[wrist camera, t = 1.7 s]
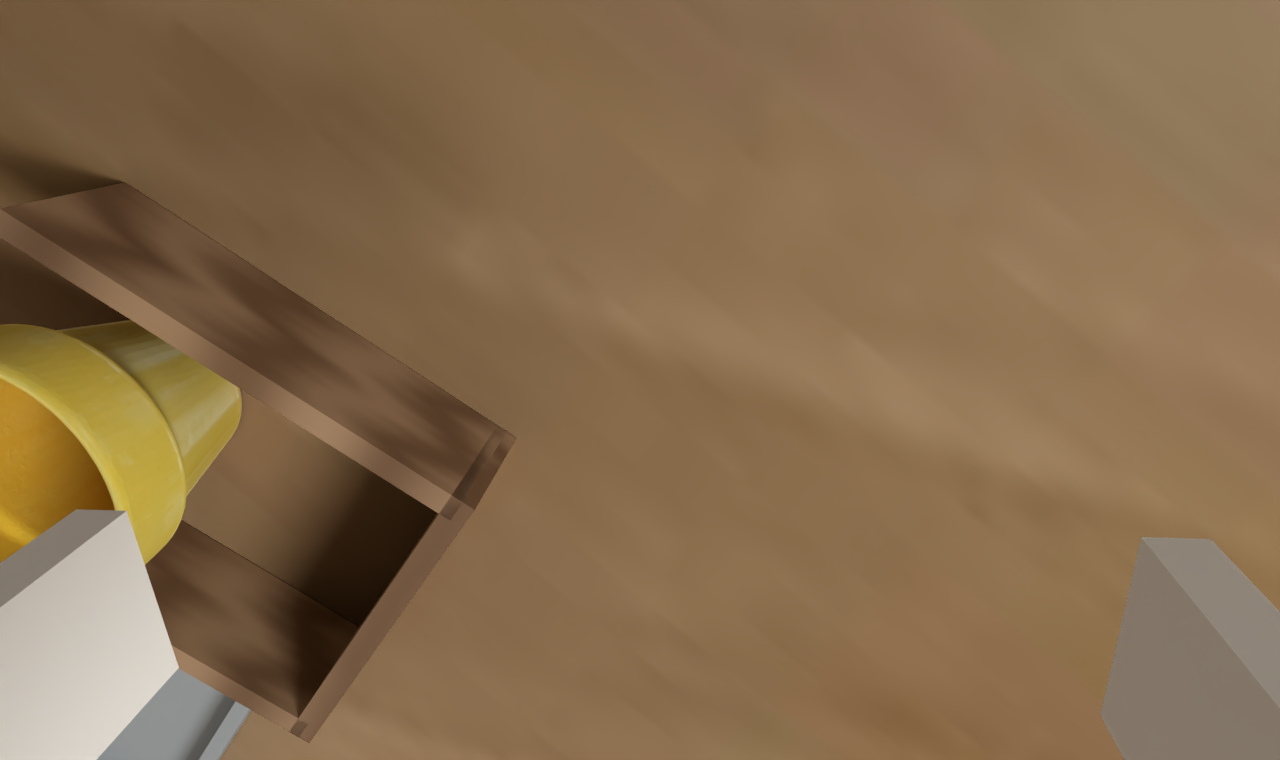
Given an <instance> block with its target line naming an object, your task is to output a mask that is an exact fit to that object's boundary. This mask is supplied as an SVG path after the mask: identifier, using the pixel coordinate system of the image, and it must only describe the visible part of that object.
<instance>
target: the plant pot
mask: <svg viewBox="0 0 1280 760" xmlns="http://www.w3.org/2000/svg"><path fill="white" fill-rule="evenodd" d="M241 412H242V397H241V391H240V388H238V387H237V386H235V385H233V384H232V383H230V382H229V381H227V380H226V379H224V378H222V377H221V376H219V375H218V374H216V373H214V372H213V371H211V370H210V369H208V368H206V367H205V366H203V365H202V364H200V363H199V362H197V361H195V360H194V359H192V358H191V357H189V356H187V355H186V354H184V353H183V352H181V351H179V350H178V349H176V348H175V347H173V346H172V345H170V344H168V343H167V342H165V341H164V340H162V339H160V338H159V337H157V336H156V335H154V334H152V333H151V332H149V331H148V330H146V329H145V328H143V327H141V326H140V325H138V324H137V323H135V322H133V321H132V320H125V321H119V322H112V323H105V324H97V325H90V326H83V327H76V328H69V329H62V330H53V329H49V328H45V327H41V326H35V325H28V324H3V325H0V563H1V562H3V561H4V560H5V559H7V558H8V557H10V556H11V555H12V554H14V553H15V552H17V551H18V550H20V549H21V548H22V547H24V546H25V545H27V544H28V543H29V542H31V541H32V540H34V539H35V538H37V537H38V536H39V535H41V534H42V533H44V532H45V531H46V530H48V529H49V528H51V527H52V526H54V525H55V524H56V523H58V522H59V521H61V520H62V519H63V518H65V517H66V516H68V515H69V514H71V513H72V512H73V511H75V510H76V509H79V510H117V511H127V513H128V516H129V519H130V522H131V525H132V528H133V531H134V534H135V537H136V540H137V543H138V546H139V549H140V552H141V555H142V558H143V561H144V564H147V563H148V562H149V561H150V560H151V559H152V558H153V557H154V556H155V555H156V554H157V553H158V552H159V551H160V550H161V549H162V548H163V547H164V546H165V545H166V544H167V543H168V542H169V540H170V539H171V538H172V536H173V535H174V533H175V532H176V530H177V528H178V526H179V524H180V522H181V519H182V516H183V512H184V509H185V504H186V497H187V495H188V494H189V493H190V491H191V490H192V489H193V487H194V486H195V485H196V483H197V482H198V481H199V479H200V478H201V477H202V475H203V474H204V473H205V471H206V470H207V469H208V467H209V466H210V465H211V463H212V462H213V461H214V459H215V458H216V457H217V455H218V454H219V453H220V452H221V450H222V449H223V448H224V446H225V445H226V444H227V442H228V441H229V440H230V438H231V437H232V436H233V434H234V432H235V431H236V429H237V426H238V424H239V421H240V417H241Z"/></svg>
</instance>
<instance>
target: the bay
mask: <svg viewBox="0 0 1280 760" xmlns="http://www.w3.org/2000/svg"><path fill="white" fill-rule="evenodd" d="M0 238H2V239H3V240H5V241H6V242H8V243H10V244H11V245H13V246H14V247H16V248H17V249H19V250H21V251H22V252H24V253H25V254H27V255H29V256H30V257H32V258H33V259H35V260H37V261H38V262H40V263H41V264H43V265H44V266H46V267H48V268H49V269H51V270H52V271H54V272H56V273H57V274H59V275H60V276H62V277H64V278H65V279H67V280H68V281H70V282H71V283H73V284H75V285H76V286H78V287H79V288H81V289H83V290H84V291H86V292H87V293H89V294H91V295H92V296H94V297H95V298H97V299H98V300H100V301H102V302H103V303H105V304H106V305H108V306H110V307H111V308H113V309H114V310H116V311H118V312H119V313H121V314H122V315H124V316H125V317H127V318H129V319H130V320H132V321H133V322H135V323H137V324H138V325H140V326H141V327H143V328H145V329H146V330H148V331H149V332H151V333H152V334H154V335H156V336H157V337H159V338H160V339H162V340H164V341H165V342H167V343H168V344H170V345H172V346H173V347H175V348H176V349H178V350H179V351H181V352H183V353H184V354H186V355H187V356H189V357H191V358H192V359H194V360H195V361H197V362H199V363H200V364H202V365H203V366H205V367H206V368H208V369H210V370H211V371H213V372H214V373H216V374H218V375H219V376H221V377H222V378H224V379H226V380H227V381H229V382H230V383H232V384H233V385H235V386H237V387H238V388H240V389H241V390H243V391H245V392H246V393H248V394H249V395H251V396H253V397H254V398H256V399H257V400H259V401H260V402H262V403H264V404H265V405H267V406H268V407H270V408H272V409H273V410H275V411H276V412H278V413H280V414H281V415H283V416H284V417H286V418H287V419H289V420H291V421H292V422H294V423H295V424H297V425H299V426H300V427H302V428H303V429H305V430H307V431H308V432H310V433H311V434H313V435H314V436H316V437H318V438H319V439H321V440H322V441H324V442H326V443H327V444H329V445H330V446H332V447H334V448H335V449H337V450H338V451H340V452H341V453H343V454H345V455H346V456H348V457H349V458H351V459H353V460H354V461H356V462H357V463H359V464H361V465H362V466H364V467H365V468H367V469H368V470H370V471H372V472H373V473H375V474H376V475H378V476H380V477H381V478H383V479H384V480H386V481H388V482H389V483H391V484H392V485H394V486H395V487H397V488H399V489H400V490H402V491H403V492H405V493H407V494H408V495H410V496H411V497H413V498H415V499H416V500H418V501H419V502H421V503H422V504H424V505H426V506H427V507H429V508H430V509H432V510H434V511H435V512H437V514H436V515H435V517H434V518H433V520H432V521H431V523H430V524H429V525H428V527H427V528H426V530H425V531H424V533H423V534H422V536H421V537H420V539H419V540H418V542H417V543H416V544H415V546H414V547H413V549H412V550H411V552H410V553H409V555H408V556H407V558H406V559H405V561H404V562H403V563H402V565H401V566H400V568H399V569H398V571H397V572H396V574H395V575H394V577H393V578H392V579H391V581H390V582H389V584H388V585H387V587H386V588H385V590H384V591H383V593H382V594H381V596H380V597H379V598H378V600H377V601H376V603H375V604H374V606H373V607H372V609H371V610H370V612H369V613H368V614H367V616H366V617H365V619H364V620H363V622H362V623H361V625H360V626H359V627H358V626H356V625H355V624H353V623H351V622H350V621H348V620H346V619H345V618H343V617H341V616H340V615H338V614H336V613H335V612H333V611H331V610H330V609H328V608H326V607H325V606H323V605H321V604H320V603H318V602H316V601H315V600H313V599H311V598H310V597H308V596H306V595H305V594H303V593H301V592H300V591H298V590H296V589H295V588H293V587H291V586H290V585H288V584H286V583H285V582H283V581H281V580H280V579H278V578H276V577H275V576H273V575H271V574H270V573H268V572H266V571H265V570H263V569H261V568H260V567H258V566H256V565H255V564H253V563H251V562H250V561H248V560H246V559H245V558H243V557H241V556H240V555H238V554H236V553H235V552H233V551H231V550H230V549H228V548H226V547H225V546H223V545H221V544H220V543H218V542H216V541H215V540H213V539H211V538H210V537H208V536H206V535H205V534H203V533H201V532H200V531H198V530H196V529H195V528H193V527H191V526H190V525H188V524H186V523H185V522H183V521H181V522H180V524H179V526H178V528H177V530H176V532H175V533H174V535H173V536H172V538H171V539H170V540H169V542H168V543H167V544H166V545H165V546H164V547H163V548H162V549H161V550H160V551H159V552H158V553H157V554H156V555H155V556H154V557H153V558H152V559H151V560H150V561H149V562H148V563H147V564H145V567H146V570H147V573H148V576H149V579H150V582H151V585H152V588H153V591H154V594H155V597H156V600H157V603H158V606H159V609H160V612H161V615H162V618H163V621H164V624H165V627H166V630H167V633H168V636H169V639H170V642H171V645H172V648H173V651H174V654H175V657H176V660H177V663H178V666H179V669H180V670H182V671H184V672H186V673H187V674H189V675H191V676H193V677H194V678H196V679H198V680H200V681H201V682H203V683H205V684H207V685H208V686H210V687H212V688H214V689H215V690H217V691H219V692H221V693H222V694H224V695H226V696H227V697H229V698H231V699H233V700H234V701H236V702H238V703H240V704H241V705H243V706H245V707H247V708H248V709H250V710H252V711H254V712H255V713H257V714H259V715H261V716H262V717H264V718H266V719H268V720H269V721H271V722H273V723H274V724H276V725H278V726H280V727H281V728H283V729H285V730H287V731H288V732H290V733H292V734H294V735H295V736H297V737H299V738H301V739H302V740H304V741H306V742H308V743H310V741H311V740H312V739H313V737H314V736H315V734H316V733H317V731H318V730H319V729H320V727H321V726H322V724H323V723H324V722H325V720H326V719H327V717H328V716H329V715H330V713H331V712H332V710H333V709H334V708H335V706H336V705H337V703H338V702H339V700H340V699H341V698H342V696H343V695H344V693H345V692H346V691H347V689H348V688H349V686H350V685H351V684H352V682H353V681H354V679H355V678H356V677H357V675H358V674H359V672H360V671H361V669H362V668H363V667H364V665H365V664H366V662H367V661H368V660H369V658H370V657H371V655H372V654H373V653H374V651H375V650H376V648H377V647H378V646H379V644H380V643H381V641H382V640H383V638H384V637H385V636H386V634H387V633H388V631H389V630H390V629H391V627H392V626H393V624H394V623H395V622H396V620H397V619H398V617H399V616H400V615H401V613H402V612H403V610H404V609H405V607H406V606H407V605H408V603H409V602H410V600H411V599H412V598H413V596H414V595H415V593H416V592H417V591H418V589H419V588H420V586H421V585H422V583H423V582H424V581H425V579H426V578H427V576H428V575H429V574H430V572H431V571H432V569H433V568H434V567H435V565H436V564H437V562H438V561H439V560H440V558H441V557H442V555H443V554H444V552H445V551H446V550H447V548H448V547H449V545H450V544H451V543H452V541H453V540H454V538H455V537H456V536H457V534H458V533H459V531H460V530H461V529H462V527H463V526H464V524H465V523H466V521H467V520H468V519H469V517H470V516H471V514H472V513H473V512H474V510H475V509H476V507H477V505H478V503H479V502H480V500H481V498H482V496H483V495H484V493H485V491H486V490H487V488H488V486H489V484H490V483H491V481H492V479H493V477H494V476H495V474H496V472H497V471H498V469H499V467H500V465H501V464H502V462H503V460H504V459H505V457H506V455H507V453H508V452H509V450H510V448H511V446H512V445H513V443H514V441H515V440H516V438H515V437H514V436H512V435H511V434H509V433H508V432H506V431H505V430H503V429H502V428H500V427H499V426H497V425H496V424H494V423H493V422H491V421H489V420H488V419H486V418H485V417H483V416H482V415H480V414H479V413H477V412H476V411H474V410H473V409H471V408H470V407H468V406H466V405H465V404H463V403H462V402H460V401H459V400H457V399H456V398H454V397H453V396H451V395H450V394H448V393H447V392H445V391H443V390H442V389H440V388H439V387H437V386H436V385H434V384H433V383H431V382H430V381H428V380H427V379H425V378H424V377H422V376H420V375H419V374H417V373H416V372H414V371H413V370H411V369H410V368H408V367H407V366H405V365H404V364H402V363H401V362H399V361H398V360H396V359H394V358H393V357H391V356H390V355H388V354H387V353H385V352H384V351H382V350H381V349H379V348H378V347H376V346H375V345H373V344H371V343H370V342H368V341H367V340H365V339H364V338H362V337H361V336H359V335H358V334H356V333H355V332H353V331H352V330H350V329H348V328H347V327H345V326H344V325H342V324H341V323H339V322H338V321H336V320H335V319H333V318H332V317H330V316H329V315H327V314H325V313H324V312H322V311H321V310H319V309H318V308H316V307H315V306H313V305H312V304H310V303H309V302H307V301H306V300H304V299H303V298H301V297H299V296H298V295H296V294H295V293H293V292H292V291H290V290H289V289H287V288H286V287H284V286H283V285H281V284H280V283H278V282H276V281H275V280H273V279H272V278H270V277H269V276H267V275H266V274H264V273H263V272H261V271H260V270H258V269H257V268H255V267H253V266H252V265H250V264H249V263H247V262H246V261H244V260H243V259H241V258H240V257H238V256H237V255H235V254H234V253H232V252H230V251H229V250H227V249H226V248H224V247H223V246H221V245H220V244H218V243H217V242H215V241H214V240H212V239H211V238H209V237H208V236H206V235H204V234H203V233H201V232H200V231H198V230H197V229H195V228H194V227H192V226H191V225H189V224H188V223H186V222H185V221H183V220H181V219H180V218H178V217H177V216H175V215H174V214H172V213H171V212H169V211H168V210H166V209H165V208H163V207H162V206H160V205H158V204H157V203H155V202H154V201H152V200H151V199H149V198H148V197H146V196H145V195H143V194H142V193H140V192H139V191H137V190H135V189H134V188H132V187H131V186H129V185H128V184H126V183H125V182H124V183H119V184H115V185H110V186H105V187H101V188H96V189H91V190H86V191H82V192H77V193H72V194H68V195H63V196H58V197H53V198H49V199H44V200H39V201H35V202H30V203H25V204H21V205H16V206H11V207H6V208H2V209H0Z"/></svg>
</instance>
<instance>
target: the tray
mask: <svg viewBox="0 0 1280 760" xmlns="http://www.w3.org/2000/svg"><path fill="white" fill-rule="evenodd" d="M251 711H252V710H250V709H248V708H247V707H245V706H243V705H241V704H240V703H238V702H236V701H234V700H233V699H231V698H229V697H227V696H226V695H224V694H222V693H221V692H219V691H217V690H215V689H214V688H212V687H210V686H208V685H207V684H205V683H203V682H201V681H200V680H198V679H196V678H194V677H193V676H191V675H189V674H187V673H186V672H184V671H182V670H180V669H179V668H178V669H177V670H176V671H175V673H174V674H173V675H172V676H171V677H170V678H169V679H168V680H167V681H166V683H165V684H164V685H163V686H162V687H161V688H160V689H159V690H158V692H157V693H156V694H155V695H154V696H153V697H152V698H151V699H150V700H149V702H148V703H147V704H146V705H145V706H144V707H143V708H142V709H141V711H140V712H139V713H138V714H137V715H136V716H135V717H134V718H133V719H132V721H131V722H130V723H129V724H128V725H127V726H126V727H125V728H124V730H123V731H122V732H121V733H120V734H119V735H118V736H117V737H116V738H115V740H114V741H113V742H112V743H111V744H110V745H109V746H108V747H107V749H106V750H105V751H104V752H103V753H102V754H101V755H100V756H99V757H98V759H97V760H220V759H221V757H222V756H223V754H224V753H225V751H226V750H227V748H228V747H229V745H230V743H231V742H232V740H233V739H234V737H235V736H236V734H237V733H238V731H239V729H240V728H241V726H242V725H243V723H244V722H245V720H246V719H247V717H248V716H249V714H250V712H251Z"/></svg>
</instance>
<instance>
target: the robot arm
mask: <svg viewBox="0 0 1280 760" xmlns="http://www.w3.org/2000/svg"><path fill="white" fill-rule="evenodd" d="M178 668H179V666H178V663H177V660H176V657H175V654H174V651H173V648H172V645H171V642H170V639H169V636H168V633H167V630H166V627H165V624H164V621H163V618H162V615H161V612H160V609H159V606H158V603H157V600H156V597H155V594H154V591H153V588H152V585H151V582H150V579H149V576H148V573H147V570H146V567H145V564H144V561H143V558H142V555H141V552H140V549H139V546H138V543H137V540H136V537H135V534H134V531H133V528H132V525H131V522H130V519H129V516H128V513H127V511H117V510H79V509H76V510H75V511H73V512H72V513H71V514H69V515H68V516H66V517H65V518H63V519H62V520H61V521H59V522H58V523H56V524H55V525H54V526H52V527H51V528H49V529H48V530H46V531H45V532H44V533H42V534H41V535H39V536H38V537H37V538H35V539H34V540H32V541H31V542H29V543H28V544H27V545H25V546H24V547H22V548H21V549H20V550H18V551H17V552H15V553H14V554H12V555H11V556H10V557H8V558H7V559H5V560H4V561H3V562H1V563H0V760H97V759H98V757H99V756H100V755H101V754H102V753H103V752H104V751H105V750H106V749H107V747H108V746H109V745H110V744H111V743H112V742H113V741H114V740H115V738H116V737H117V736H118V735H119V734H120V733H121V732H122V731H123V730H124V728H125V727H126V726H127V725H128V724H129V723H130V722H131V721H132V719H133V718H134V717H135V716H136V715H137V714H138V713H139V712H140V711H141V709H142V708H143V707H144V706H145V705H146V704H147V703H148V702H149V700H150V699H151V698H152V697H153V696H154V695H155V694H156V693H157V692H158V690H159V689H160V688H161V687H162V686H163V685H164V684H165V683H166V681H167V680H168V679H169V678H170V677H171V676H172V675H173V674H174V673H175V671H176V670H177V669H178ZM1100 715H1101V717H1102V719H1103V721H1104V723H1105V725H1106V727H1107V729H1108V730H1109V732H1110V734H1111V736H1112V738H1113V740H1114V742H1115V743H1116V745H1117V747H1118V749H1119V751H1120V753H1121V755H1122V757H1123V758H1124V760H1280V611H1279V610H1278V609H1277V608H1276V607H1275V606H1274V605H1273V604H1272V603H1271V602H1270V601H1269V600H1268V599H1267V598H1266V597H1265V596H1264V595H1263V594H1262V592H1261V591H1260V590H1259V589H1258V588H1257V587H1256V586H1255V585H1254V584H1253V583H1252V582H1251V581H1250V580H1249V579H1248V578H1247V577H1246V576H1245V575H1244V573H1243V572H1242V571H1241V570H1240V569H1239V568H1238V567H1237V566H1236V565H1235V564H1234V563H1233V562H1232V561H1231V560H1230V559H1229V558H1228V557H1227V555H1226V554H1225V553H1224V552H1223V551H1222V550H1221V549H1220V548H1219V547H1218V546H1217V545H1216V544H1215V543H1214V542H1213V541H1212V540H1211V539H1187V538H1149V537H1141V541H1140V545H1139V549H1138V554H1137V558H1136V562H1135V567H1134V571H1133V575H1132V580H1131V584H1130V588H1129V593H1128V597H1127V601H1126V606H1125V610H1124V614H1123V619H1122V623H1121V627H1120V632H1119V636H1118V640H1117V645H1116V649H1115V654H1114V658H1113V662H1112V667H1111V671H1110V675H1109V680H1108V684H1107V688H1106V693H1105V697H1104V701H1103V706H1102V710H1101V714H1100Z"/></svg>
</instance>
